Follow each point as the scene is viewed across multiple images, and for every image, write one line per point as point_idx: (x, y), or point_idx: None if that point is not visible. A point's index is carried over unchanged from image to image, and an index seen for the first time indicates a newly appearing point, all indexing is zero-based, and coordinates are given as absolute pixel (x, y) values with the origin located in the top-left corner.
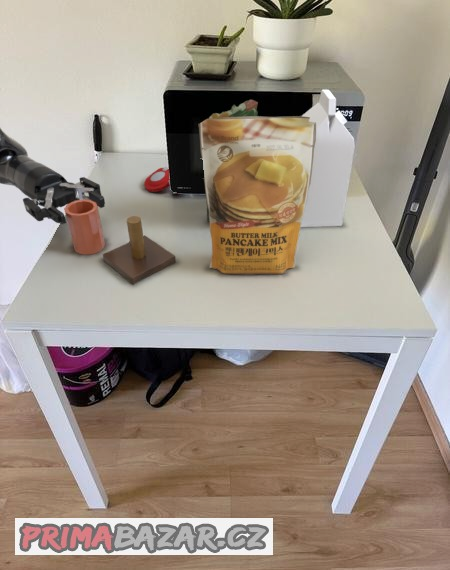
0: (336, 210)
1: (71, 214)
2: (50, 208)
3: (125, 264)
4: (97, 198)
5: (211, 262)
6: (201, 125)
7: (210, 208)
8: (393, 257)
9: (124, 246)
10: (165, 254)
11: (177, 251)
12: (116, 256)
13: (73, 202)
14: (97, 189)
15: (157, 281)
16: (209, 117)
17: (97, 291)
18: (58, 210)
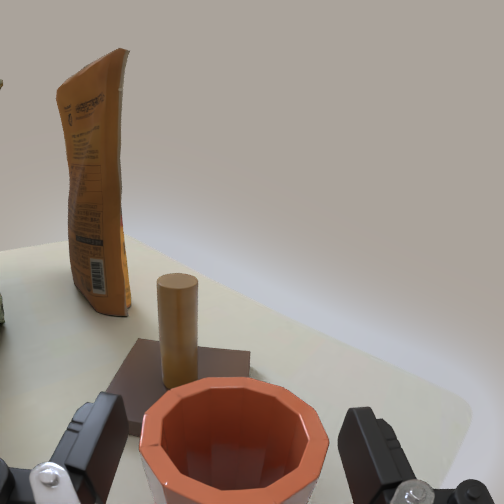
0: None
1: (311, 411)
2: (401, 479)
3: None
4: (113, 414)
5: (125, 303)
6: (126, 54)
7: (118, 197)
8: (41, 245)
9: None
10: (143, 349)
11: (103, 363)
12: None
13: (231, 498)
14: (16, 470)
15: (209, 347)
16: (2, 80)
17: (318, 387)
18: (367, 437)
